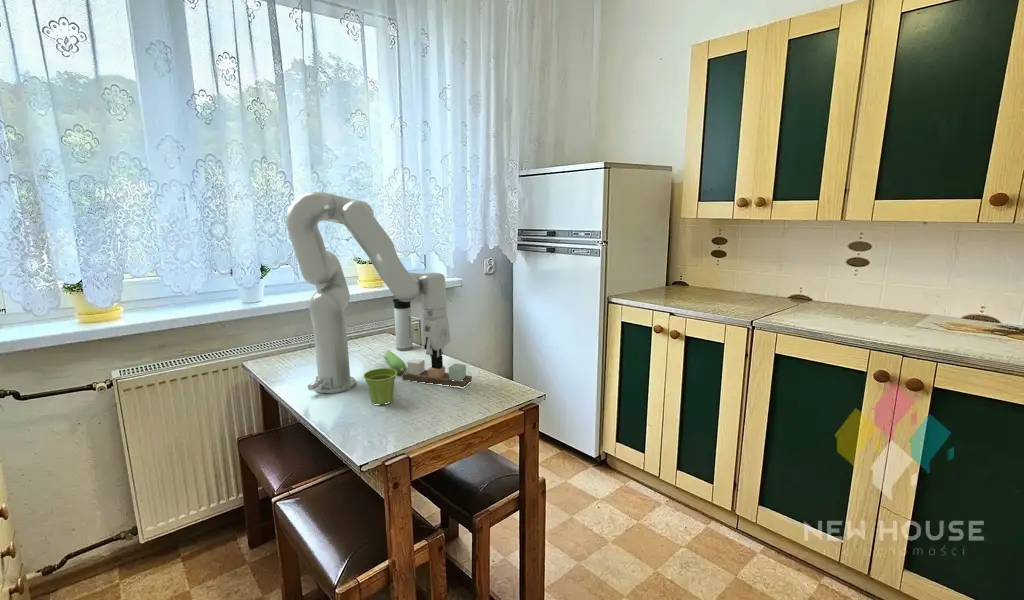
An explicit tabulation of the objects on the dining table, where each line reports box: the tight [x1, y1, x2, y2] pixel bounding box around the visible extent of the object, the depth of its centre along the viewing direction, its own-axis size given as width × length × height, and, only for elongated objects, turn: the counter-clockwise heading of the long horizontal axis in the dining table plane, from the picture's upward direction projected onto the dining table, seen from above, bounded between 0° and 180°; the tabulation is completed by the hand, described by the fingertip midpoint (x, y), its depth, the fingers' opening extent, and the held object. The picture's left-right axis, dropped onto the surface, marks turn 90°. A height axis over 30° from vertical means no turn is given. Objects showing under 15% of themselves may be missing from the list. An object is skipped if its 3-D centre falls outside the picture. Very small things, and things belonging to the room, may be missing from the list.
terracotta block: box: [427, 365, 446, 379], centre depth 158 cm, size 4×4×4 cm
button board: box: [401, 369, 473, 387], centre depth 158 cm, size 6×22×2 cm, turn 70°
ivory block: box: [407, 358, 426, 376], centre depth 160 cm, size 4×4×4 cm
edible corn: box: [383, 349, 408, 376], centre depth 171 cm, size 5×20×5 cm
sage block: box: [448, 363, 467, 382], centre depth 155 cm, size 4×4×4 cm
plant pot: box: [362, 367, 398, 405], centre depth 142 cm, size 9×9×9 cm
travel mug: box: [392, 298, 414, 352], centre depth 190 cm, size 6×7×20 cm
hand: (437, 367), depth 158 cm, fingers closed
